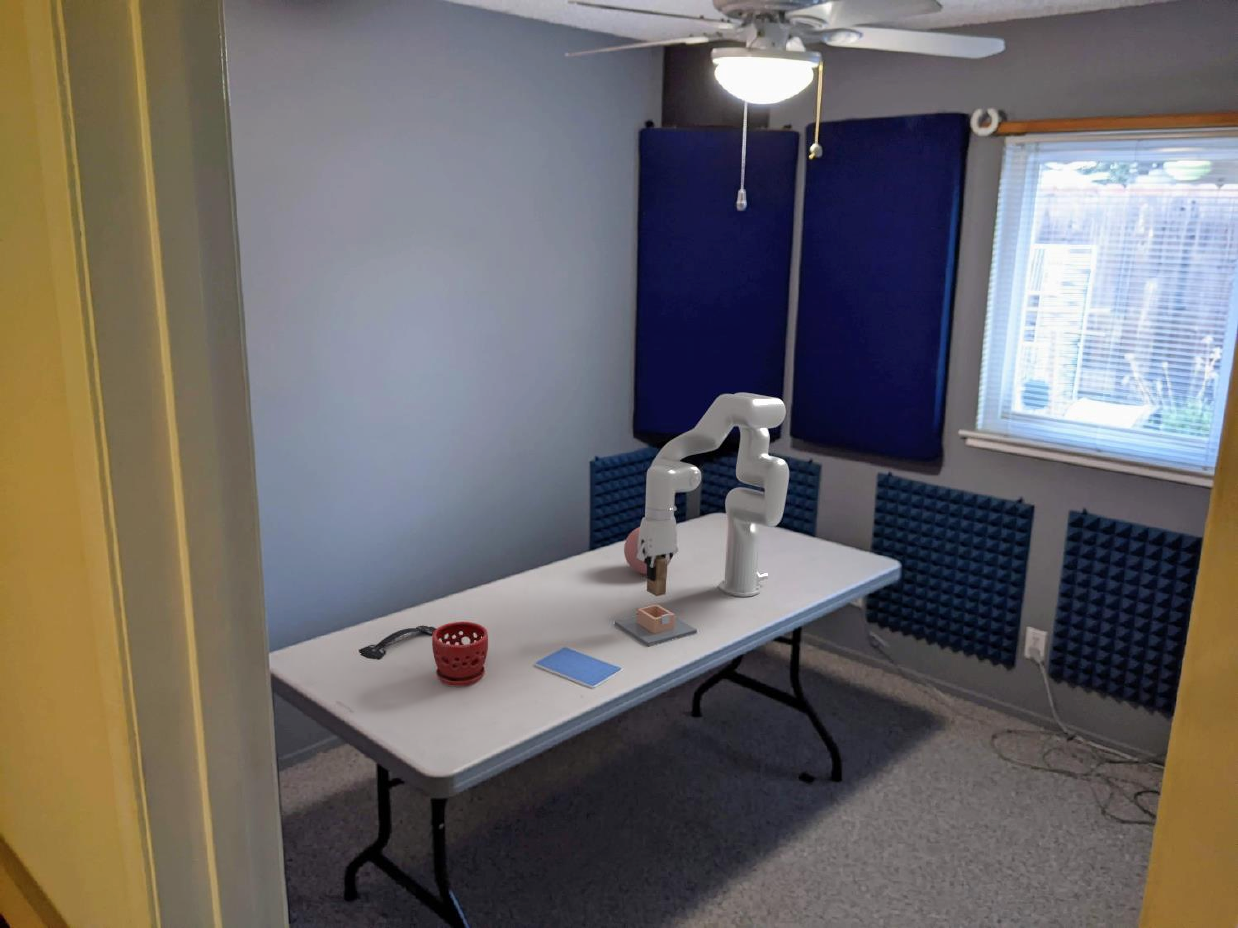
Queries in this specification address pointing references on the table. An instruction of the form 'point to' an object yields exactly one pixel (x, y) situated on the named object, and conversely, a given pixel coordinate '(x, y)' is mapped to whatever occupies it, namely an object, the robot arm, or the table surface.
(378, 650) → the black curved handle
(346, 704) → the table surface
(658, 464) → the robot arm
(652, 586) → the wooden rectangular block
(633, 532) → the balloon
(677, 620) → the square base with socket
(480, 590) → the table surface
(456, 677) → the plant pot
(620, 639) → the table surface
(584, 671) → the tablet computer
